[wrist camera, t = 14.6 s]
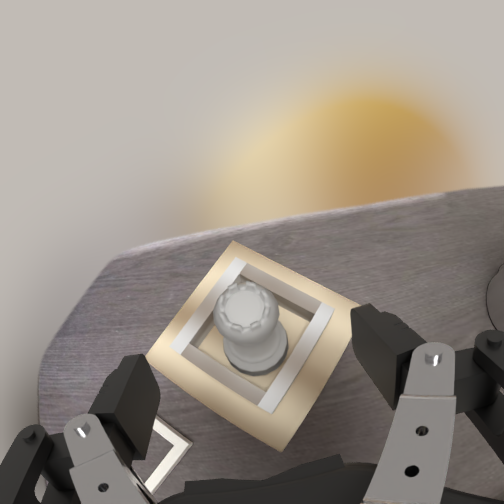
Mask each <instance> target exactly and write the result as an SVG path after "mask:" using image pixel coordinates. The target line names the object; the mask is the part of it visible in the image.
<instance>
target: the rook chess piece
mask: <svg viewBox="0 0 504 504" xmlns="http://www.w3.org/2000/svg"><path fill="white" fill-rule="evenodd" d="M227 287H228V289H226V290H225V291H224V292H223V293H222V294H220V296H219V297H218V299H217V301H216V304H215V306H214V309H213V317H214V324H215V325H216V327H217V329H218V331H219V333H220V334H221V335H222V336H224V337H223V347H224V352H225V355H226V357H227V359H228V361H229V363H230V364H231V365H232V366H233V367H234V368H235V369H236V370H238V371H239V372H240V373H243V374H247V375H250V376H260V375H266V374H268V373H270V372H272V371H274V370H276V369H277V368H278V367H279V366H280V365H281V364H282V362H283V361H284V360H285V358H286V355H287V351H288V348H289V345H288V338H287V333H286V330H285V329H284V327H283V325H282V324H281V322H280V321H279V320H278V318H279V315H280V314H279V307H278V302H277V300H276V299H275V297H274V295H273V294H272V292H271V291H269V290H268V289H266V288H265V287H263V286H262V285H259V284H257V283H255V282H250V281H246V283H240V284H237V282H235V283H233V284H231V285H229V286H227Z"/></svg>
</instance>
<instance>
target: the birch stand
mask: <svg viewBox="0 0 504 504" xmlns="http://www.w3.org/2000/svg"><path fill="white" fill-rule="evenodd" d="M246 281H250V282H255V283H257V284H259V285H262V286H263V287H265V288H266V289H268V290H269V291H271V292H272V294H273V295H274V297H275V299H276V300H277V302H278V307H279V314H280V315H279V318H278V320H279V321H280V322H281V324H282V325H283V327H284V329H285V330H286V333H287V338H288V345H289V348H288V351H287V355H286V358H285V360H284V361H283V362H282V364H281V365H280V366H279V367H278V368H277V369H276V370H274V371H272V372H270V373H268V374H266V375H260V376H250V375H247V374H243V373H240V372H239V371H238V370H236V369H235V368H234V367H233V366H232V365H231V364H230V363H229V361H228V359H227V357H226V355H225V352H224V347H223V337H224V336H222V335H221V334H220V333H219V331H218V329H217V327H216V325H215V324H214V317H213V309H214V306H215V304H216V301H217V299H218V297H219V296H220V294H222V293H223V292H224V291H225V290H226V289H228V287H227V286H229V285H231V284H233V283H235V282H237V284H240V283H246ZM359 306H361V305H359V304H357V303H355V302H353V301H351V300H349V299H347V298H345V297H343V296H341V295H339V294H337V293H335V292H333V291H331V290H329V289H327V288H326V287H324V286H322V285H320V284H318V283H316V282H314V281H312V280H310V279H308V278H306V277H304V276H302V275H300V274H298V273H296V272H294V271H292V270H290V269H288V268H286V267H284V266H282V265H280V264H278V263H276V262H274V261H272V260H270V259H268V258H267V257H265V256H263V255H261V254H259V253H257V252H255V251H253V250H251V249H249V248H247V247H245V246H243V245H241V244H239V243H237V242H235V241H232V242H231V244H230V245H229V246H228V248H227V249H226V250H225V251H224V253H223V254H222V255H221V257H220V258H219V259H218V260H217V262H216V263H215V264H214V266H213V267H212V268H211V270H210V271H209V272H208V274H207V275H206V276H205V277H204V279H203V280H202V281H201V283H200V284H199V285H198V287H197V288H196V289H195V291H194V292H193V293H192V295H191V296H190V297H189V298H188V300H187V301H186V302H185V304H184V305H183V306H182V308H181V309H180V310H179V312H178V313H177V314H176V316H175V317H174V318H173V320H172V321H171V322H170V324H169V325H168V326H167V328H166V329H165V330H164V332H163V333H162V335H161V336H160V337H159V339H158V340H157V341H156V343H155V344H154V345H153V347H152V348H151V349H150V351H149V352H148V353H147V355H146V356H145V357H146V359H147V361H148V363H150V364H151V365H152V366H153V367H155V368H156V369H157V370H158V371H160V372H161V373H162V374H163V375H165V376H166V377H167V378H169V379H170V380H171V381H172V382H174V383H175V384H176V385H178V386H179V387H180V388H182V389H183V390H184V391H186V392H187V393H189V394H190V395H191V396H193V397H194V398H195V399H197V400H198V401H200V402H201V403H203V404H204V405H205V406H207V407H208V408H210V409H211V410H213V411H214V412H216V413H217V414H219V415H220V416H222V417H223V418H225V419H226V420H228V421H229V422H231V423H232V424H234V425H236V426H237V427H239V428H240V429H242V430H244V431H245V432H247V433H249V434H250V435H252V436H254V437H255V438H257V439H259V440H260V441H262V442H264V443H266V444H267V445H269V446H271V447H273V448H274V449H276V450H278V451H280V452H282V451H283V450H284V448H285V447H286V445H287V444H288V442H289V441H290V439H291V438H292V437H293V435H294V434H295V432H296V431H297V429H298V428H299V426H300V424H301V423H302V421H303V420H304V418H305V417H306V415H307V414H308V412H309V410H310V409H311V407H312V406H313V404H314V402H315V401H316V399H317V398H318V396H319V394H320V393H321V391H322V389H323V387H324V386H325V384H326V382H327V381H328V379H329V377H330V375H331V374H332V372H333V370H334V368H335V367H336V365H337V363H338V361H339V359H340V357H341V356H342V354H343V352H344V350H345V348H346V346H347V344H348V343H349V341H350V339H351V337H352V330H351V318H350V311H351V309H352V308H355V307H359Z"/></svg>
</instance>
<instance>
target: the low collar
mask: <svg viewBox="0 0 504 504" xmlns="http://www.w3.org/2000/svg"><path fill="white" fill-rule="evenodd" d="M153 429H154V430H155V431H156V432H158V433H159V434H160V435H161V436H163V437H164V438H165V439H167V440H168V441H169V442H170V443H172V444H173V445H174V446H173V448H172V449H171V450H170V452H169V453H168V454H167V456H166V457H165V458H164V459H163V461H162V462H161V463H160V465H159V466H158V467H157V468H156V470H155V471H154V472H153V474H152V475H151V476H150V477H149V479H148V480H147V481H146V482H145V486H146V487H147V488H148V490H149V491H150V493H151V494H152V495H153V494H154V493H155V491H156V490H157V489H158V488H159V486H160V485H161V484H162V483H163V481H164V480H165V479H166V478H167V476H168V475H169V474H170V473H171V471H172V470H173V469H174V468H175V466H176V465H177V464H178V462H179V461H180V460H181V459H182V457H183V456H184V455H185V453H186V452H187V451H188V449H189V448H190V447H191V446H192V444H193V442H191V441H190V440H188V439H187V438H186V437H184V436H183V435H182V434H180V433H179V432H178V431H176V430H175V429H174V428H172V427H171V426H170V425H168V424H167V423H166V422H165V421H163V420H162V419H161V418H160V417H158V416H157V415H156V418H155V421H154V425H153Z"/></svg>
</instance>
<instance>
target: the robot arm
mask: <svg viewBox="0 0 504 504" xmlns="http://www.w3.org/2000/svg"><path fill="white" fill-rule="evenodd" d="M487 307H488V311H489V315H490V318H491V320H492V322H493V324H494V326H495V327H496V329H497V330H487V331H484V332H482V333H480V334H479V335H478V336H477V337H476V339H475V345H474V348H470V349H465V350H461V351H455V352H454V350H453V349H452V348H451V347H450V346H449V345H447V344H444V343H440V342H430V343H427V342H426V341H425V340H424V339H423V338H421V337H420V336H419V335H418V334H417V333H416V332H415V331H413V330H412V329H411V328H409V326H408V325H407V324H405V323H403V321H402V320H401V319H400V318H398V317H397V316H396V315H394V314H391V313H388V312H382V313H380V312H379V311H378V310H377V309H376V308H375V307H374V306H372V305H371V304H370V303H369V304H365V305H362V306H359V307H355V308H352V309H351V311H350V318H351V330H352V344H353V349H354V353H355V355H356V357H357V359H358V361H359V362H360V363H361V365H362V366H363V368H364V369H365V371H366V372H367V373H368V375H369V376H370V378H371V379H372V381H373V382H374V384H375V385H376V386H377V388H378V389H379V391H380V392H381V394H382V395H383V397H384V398H385V400H386V401H387V402H388V404H389V405H390V407H391V408H392V410H395V409H396V412H395V416H394V419H393V422H392V426H391V429H390V432H389V435H388V438H387V441H386V444H385V447H384V449H383V452H382V455H381V458H380V460H379V463H378V465H377V464H371V463H360V462H357V463H343V461H342V458H341V456H340V454H337V455H334V456H331V457H327V458H324V459H320V460H317V461H313V462H309V463H305V464H301V465H299V466H297V467H295V468H292V469H290V470H288V471H285V472H283V473H281V474H278V475H276V476H273V477H271V478H268V479H266V480H261V481H254V480H235V479H212V480H200V481H185V489H184V492H181V493H178V494H175V495H173V496H170V497H168V498H166V499H164V500H162V501H161V502H159V503H158V502H157V500H156V499H155V498H154V497H153V495H152V494H151V493H150V491H149V490H148V488H147V487H146V486H145V484H144V483H143V481H142V480H141V479H140V477H139V476H138V474H137V473H136V471H135V470H134V468H133V467H132V466H131V464H132V461H133V460H145V458H146V454H147V449H148V445H149V441H150V437H151V433H152V429H153V425H154V421H155V418H156V414H157V410H158V406H159V402H160V389H159V386H158V384H157V381H156V379H155V377H154V375H153V373H152V370H151V368H150V366H149V363H148V361H147V359H146V357H145V356H144V355H143V354H137V355H129V356H124V358H123V359H122V361H121V363H120V365H119V367H118V369H115V370H114V371H113V372H112V373H111V374H110V375H109V376H108V377H107V378H106V380H105V382H104V383H103V387H101V389H100V391H99V394H98V395H97V397H96V398H95V400H94V402H93V404H92V406H91V408H90V410H89V412H88V414H82V415H79V416H76V417H74V418H73V419H71V420H70V421H69V422H68V423H67V424H66V426H65V428H64V432H63V433H58V434H53V435H49V434H48V433H47V432H46V430H45V429H44V427H43V426H41V425H30V426H28V427H26V428H24V429H23V430H22V431H21V432H20V433H19V434H18V435H17V437H16V438H15V440H14V442H13V443H12V445H11V447H10V449H9V451H8V452H7V454H6V456H5V458H4V459H3V461H2V463H1V465H0V504H81V503H82V504H504V501H501V500H496V499H491V498H486V497H482V496H477V495H473V494H469V493H465V492H461V491H457V490H454V489H450V488H447V487H444V484H445V480H446V475H447V470H448V464H449V458H450V452H451V446H452V438H453V430H454V421H455V414H458V413H462V412H464V413H465V414H466V415H467V416H468V418H469V419H470V420H471V421H472V423H473V424H474V425H475V427H476V428H477V429H478V430H479V432H480V433H481V434H482V436H483V437H484V438H485V440H486V441H487V442H488V444H489V445H490V446H491V448H492V449H493V450H494V452H495V453H496V454H497V456H498V457H499V458H500V460H501V461H502V462H503V464H504V395H503V394H502V393H501V392H500V388H501V387H502V388H503V389H504V264H503V265H502V266H501V267H500V268H499V272H498V273H497V274H496V275H495V276H494V277H493V278H492V280H491V281H490V283H489V286H488V290H487ZM40 474H41V475H42V476H43V477H44V478H45V479H46V480H47V481H48V482H49V483H48V486H47V488H46V491H45V494H44V496H43V499H42V502H41V503H40V502H39V501H38V500H37V498H36V496H35V492H34V490H35V486H36V483H37V481H38V479H39V476H40Z"/></svg>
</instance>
